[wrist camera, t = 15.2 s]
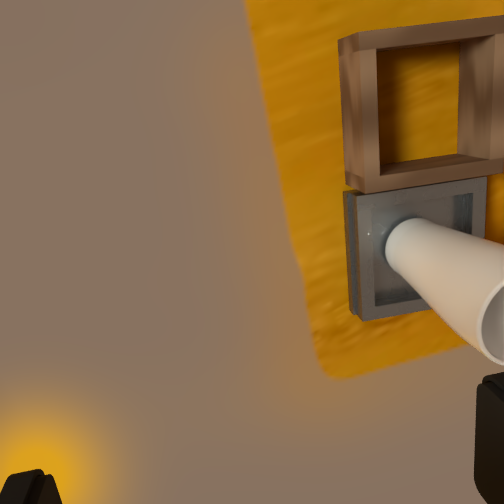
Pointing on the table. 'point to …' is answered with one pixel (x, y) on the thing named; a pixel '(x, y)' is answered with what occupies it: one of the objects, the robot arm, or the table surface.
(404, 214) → the metal cradle
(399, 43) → the frame
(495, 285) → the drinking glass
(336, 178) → the table surface
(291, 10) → the table surface
